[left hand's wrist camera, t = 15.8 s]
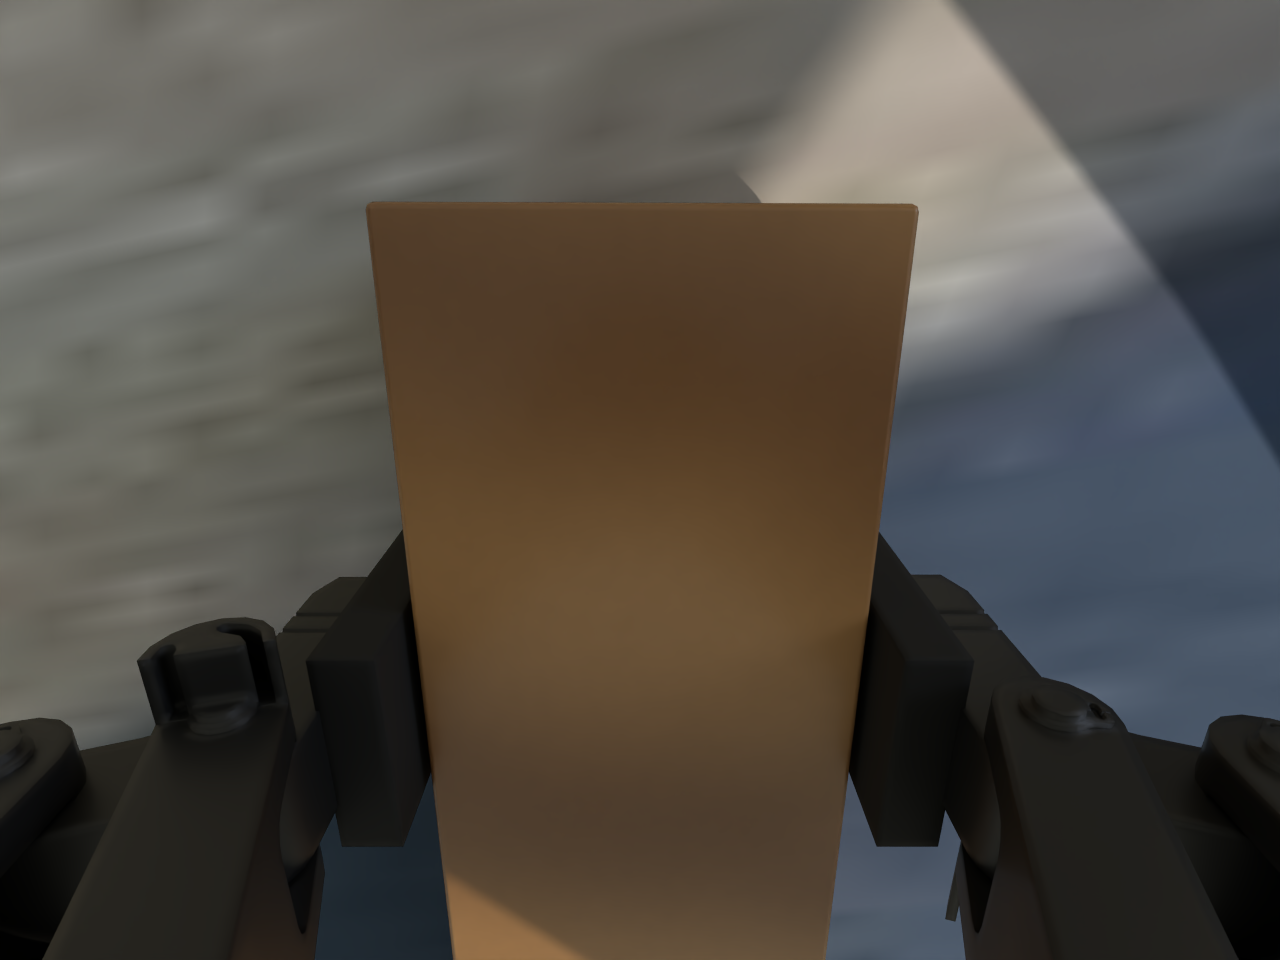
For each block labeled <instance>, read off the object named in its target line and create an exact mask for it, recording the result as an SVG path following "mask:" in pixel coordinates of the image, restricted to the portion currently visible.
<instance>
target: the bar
mask: <svg viewBox="0 0 1280 960" xmlns="http://www.w3.org/2000/svg"><path fill="white" fill-rule="evenodd" d="M918 214H919V211H918V207H917V206H915V205H913V204H836V203H570V202H371V203H369V204H367V207H366V217H367V225H368V234H369V243H370V251H371V260H372V268H373V277H374V285H375V294H376V303H377V311H378V320H379V328H380V337H381V345H382V354H383V363H384V371H385V380H386V388H387V397H388V405H389V414H390V422H391V431H392V440H393V448H394V457H395V465H396V474H397V482H398V491H399V500H400V508H401V517H402V525H403V534H404V542H405V551H406V560H407V568H408V577H409V585H410V594H411V602H412V611H413V620H414V628H415V637H416V645H417V654H418V662H419V671H420V680H421V688H422V697H423V705H424V714H425V722H426V731H427V739H428V748H429V757H430V765H431V774H432V782H433V791H434V799H435V808H436V817H437V825H438V834H439V842H440V851H441V859H442V868H443V877H444V885H445V894H446V902H447V911H448V919H449V928H450V937H451V945H452V954H453V960H825V957H826V949H827V941H828V933H829V925H830V917H831V909H832V901H833V893H834V885H835V877H836V869H837V861H838V853H839V845H840V837H841V829H842V821H843V813H844V805H845V797H846V789H847V781H848V773H849V765H850V757H851V749H852V741H853V733H854V725H855V717H856V709H857V701H858V693H859V685H860V677H861V669H862V661H863V653H864V645H865V637H866V629H867V621H868V613H869V605H870V597H871V589H872V582H873V574H874V566H875V558H876V550H877V542H878V534H879V526H880V518H881V510H882V502H883V494H884V486H885V478H886V470H887V462H888V454H889V446H890V438H891V430H892V422H893V414H894V406H895V398H896V390H897V382H898V374H899V366H900V358H901V350H902V342H903V334H904V326H905V318H906V310H907V302H908V294H909V286H910V278H911V270H912V262H913V254H914V246H915V238H916V230H917V222H918Z"/></svg>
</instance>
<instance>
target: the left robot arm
mask: <svg viewBox="0 0 1280 960" xmlns="http://www.w3.org/2000/svg"><path fill="white" fill-rule="evenodd" d="M296 614H297V615H296V616H293V617H292V618H291V620H290V621H289V622H288V623H287V624H286V625H285V627H284V628H283V632H282V633H279V634H278V635H277V636H275V631H274V628H273V627H271V626H270V625H268V624H267V623H266V622H264V621H262V620H257V619H251V618H246V617H242V618H223V619H218V620H213V621H209V622H204V623H200V624H196V625H193V626H191V627H188V628H185V629H183V630H180V631H178V632H175V633H173V634H170V635H169V636H167V637H165V638H164V639H162V640H161V641H159V642H157V643H156V644H154V645H152V646H151V647H150V648H149V649H148V650H147V651H146V652H145V653H144V654H143V655H142V656H141V657H140V658H139V659H138V660H137V663H138V666H139V670H140V673H141V676H142V680H143V683H144V686H145V690H146V693H147V697H148V700H149V703H150V707H151V710H152V713H153V717H154V720H155V724H156V726H155V728H154V730H153V732H152V734H151V736H147V737H144V738H140V739H135V740H130V741H125V742H120V743H115V744H110V745H105V746H101V747H96V748H91V749H86V750H81V751H79V748H78V745H77V742H76V739H75V736H74V733H73V731H72V728H71V727H69V726H68V725H67V724H65V723H64V722H62V721H61V720H56V719H46V718H35V719H28V720H21V721H13V722H8V723H4V724H0V960H314V958H315V950H316V942H317V933H318V925H319V917H320V909H321V901H322V892H323V884H324V876H325V871H324V864H323V857H322V853H321V848H320V841H321V839H322V837H323V835H324V833H325V831H326V829H327V827H328V825H329V823H330V821H331V820H332V818H333V816H334V814H335V813H336V818H337V823H338V828H339V834H340V839H341V844H342V847H403V846H404V843H405V840H406V838H407V835H408V832H409V830H410V827H411V824H412V821H413V819H414V816H415V813H416V811H417V808H418V805H419V803H420V800H421V797H422V795H423V792H424V789H425V786H426V784H427V781H428V778H429V776H430V773H431V765H430V757H429V748H428V739H427V731H426V722H425V714H424V705H423V697H422V688H421V680H420V671H419V662H418V654H417V645H416V637H415V628H414V620H413V611H412V602H411V594H410V585H409V577H408V568H407V560H406V551H405V542H404V534H403V530H402V531H401V532H400V534H399V535H398V537H397V538H396V539H395V541H394V542H393V543H392V545H391V546H390V547H389V549H388V550H387V551H386V553H385V554H384V555H383V557H382V558H381V559H380V561H379V562H378V563H377V565H376V566H375V568H374V569H373V570H372V572H371V573H370V574H369V576H368V577H339V578H337V579H336V580H334V581H332V582H331V583H329V584H328V585H326V586H324V587H323V588H321V589H319V590H318V591H316V592H314V593H313V594H312V595H311V596H310V597H309V598H308V600H307V601H306V602H305V603H304V604H303V605H302V607H301V608H300V609H299V610H298V611H297V613H296ZM849 773H850V776H851V779H852V781H853V784H854V787H855V789H856V792H857V795H858V797H859V800H860V803H861V805H862V808H863V811H864V813H865V816H866V819H867V822H868V824H869V827H870V830H871V832H872V835H873V838H874V840H875V843H876V846H877V847H938V843H939V838H940V833H941V828H942V823H943V818H944V813H945V810H946V812H947V814H948V816H949V818H950V820H951V822H952V824H953V826H954V828H955V830H956V832H957V834H958V836H959V838H960V839H961V843H960V848H959V853H958V857H957V862H956V867H955V872H954V876H953V881H952V886H951V890H950V895H949V900H948V905H947V912H946V918H945V919H947V920H951V921H956V916H957V912H958V907H960V915H961V923H962V932H963V940H964V948H965V956H966V960H1280V721H1278V720H1274V719H1270V718H1262V717H1255V716H1248V715H1233V716H1223V717H1220V718H1218V719H1217V720H1215V721H1214V722H1213V723H1211V724H1210V725H1209V728H1208V730H1207V733H1206V736H1205V739H1204V742H1203V745H1202V748H1200V747H1196V746H1191V745H1186V744H1181V743H1176V742H1171V741H1166V740H1161V739H1156V738H1151V737H1146V736H1141V735H1137V734H1134V733H1130V732H1128V731H1127V729H1126V727H1125V725H1124V723H1123V722H1122V721H1121V719H1120V718H1119V717H1118V715H1117V714H1116V713H1115V712H1114V710H1113V709H1112V708H1110V707H1109V706H1108V705H1106V704H1105V703H1103V702H1102V701H1101V700H1099V699H1098V698H1096V697H1095V696H1094V695H1092V694H1090V693H1088V692H1085V691H1083V690H1081V689H1079V688H1077V687H1074V686H1072V685H1070V684H1067V683H1063V682H1059V681H1056V680H1052V679H1048V678H1044V677H1041V676H1040V675H1039V674H1038V672H1037V671H1036V670H1035V669H1034V668H1033V667H1032V665H1031V664H1030V663H1029V662H1028V661H1027V660H1026V658H1025V657H1024V656H1023V655H1022V654H1021V653H1020V651H1019V650H1018V649H1017V648H1016V647H1015V646H1014V644H1013V643H1012V642H1011V641H1010V640H1009V639H1008V637H1007V636H1006V635H1005V634H1004V633H1003V632H1002V630H998V626H997V625H996V623H995V622H994V621H993V620H992V619H991V618H990V617H989V615H988V614H984V610H983V608H982V607H981V606H980V605H979V604H978V603H977V601H976V600H975V599H974V598H973V597H972V596H971V594H970V593H969V592H968V591H967V590H965V589H963V588H962V587H960V586H958V585H957V584H955V583H953V582H952V581H950V580H948V579H947V578H945V577H943V576H942V575H911V574H910V573H909V572H908V570H907V569H906V568H905V566H904V565H903V564H902V562H901V561H900V559H899V558H898V557H897V555H896V554H895V553H894V551H893V550H892V549H891V547H890V546H889V545H888V543H887V542H886V541H885V539H884V538H883V537H882V535H881V534H880V533H879V534H878V542H877V550H876V558H875V566H874V574H873V582H872V589H871V597H870V605H869V613H868V621H867V629H866V637H865V645H864V653H863V661H862V669H861V677H860V685H859V693H858V701H857V709H856V717H855V725H854V733H853V741H852V749H851V757H850V765H849Z"/></svg>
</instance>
